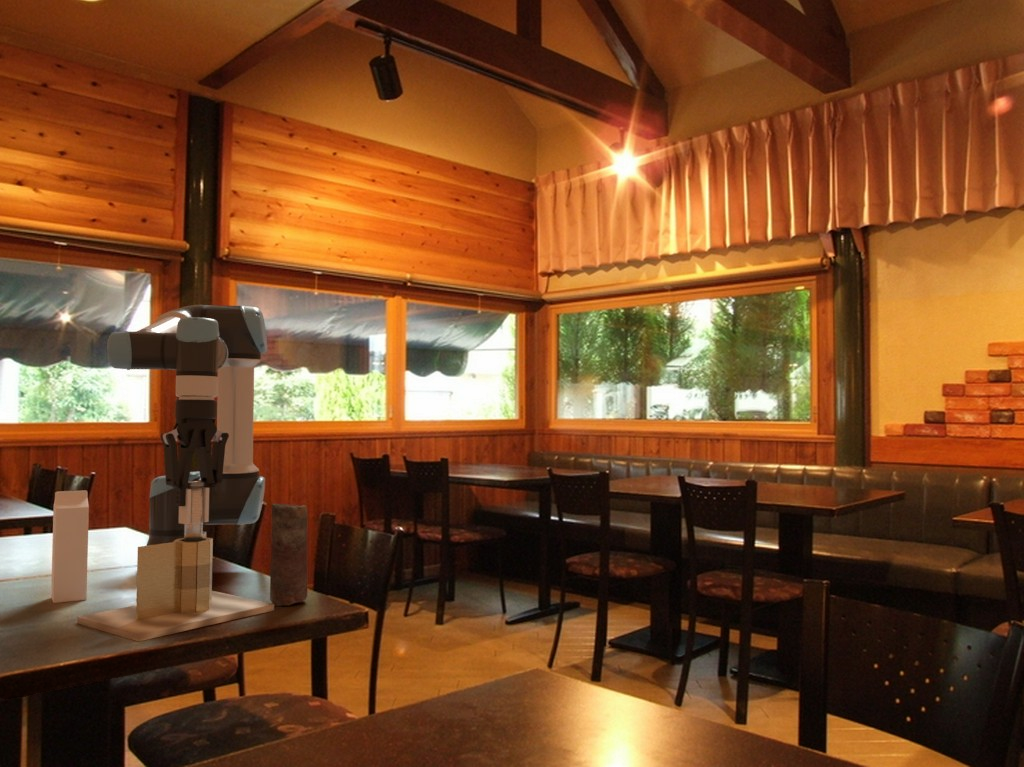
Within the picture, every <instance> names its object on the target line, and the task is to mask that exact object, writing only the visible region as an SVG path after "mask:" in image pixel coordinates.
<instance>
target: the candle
mask: <svg viewBox="0 0 1024 767" xmlns="http://www.w3.org/2000/svg"><path fill="white" fill-rule="evenodd" d="M270 508H271V514H270V516H271V519H270V520H271V521H270V522H271V527H270V532H271V533H270V534H271V535H270V536H271V537H270V571H269V572H270V573H269V574H270V575H269V576H270V577H269V578H270V579H269V581H270V582H269V589H270V590H269V601H270V603H272V604H274V607H283V606H292V605H294V604H298V603H299V604H301V603H302V602H304V601H306V600H307V598H308V583H309V582H308V506H307V505H306V504H303V505H297V504H284V503H272V504H271V507H270Z"/></svg>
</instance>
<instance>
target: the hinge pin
mask: <svg viewBox="0 0 1024 767" xmlns="http://www.w3.org/2000/svg"><path fill="white" fill-rule="evenodd" d="M204 486H205V482H204V481H189V482H188V487H187V488H186V489H191V524H185V534H184V542H197V541H202V534H203V532H204V531H203V527H204V526H203V488H204Z"/></svg>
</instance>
